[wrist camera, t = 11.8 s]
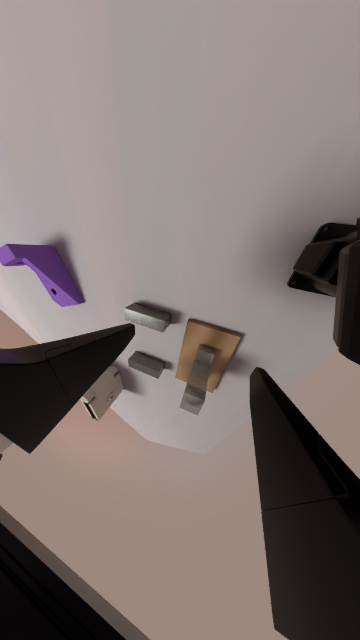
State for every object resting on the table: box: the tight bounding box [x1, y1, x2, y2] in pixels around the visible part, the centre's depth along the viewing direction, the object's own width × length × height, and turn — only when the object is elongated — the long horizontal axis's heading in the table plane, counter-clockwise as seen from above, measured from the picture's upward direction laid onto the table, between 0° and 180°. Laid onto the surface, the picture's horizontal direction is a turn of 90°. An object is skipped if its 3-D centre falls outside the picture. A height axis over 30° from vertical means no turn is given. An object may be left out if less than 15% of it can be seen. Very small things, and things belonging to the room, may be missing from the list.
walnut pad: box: [175, 319, 241, 393], centre depth 26 cm, size 9×16×1 cm, turn 171°
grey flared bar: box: [180, 344, 215, 415], centre depth 22 cm, size 3×8×8 cm, turn 171°
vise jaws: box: [124, 303, 171, 378], centre depth 27 cm, size 8×16×3 cm, turn 171°
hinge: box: [80, 366, 124, 420], centre depth 37 cm, size 14×5×10 cm, turn 12°
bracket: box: [0, 244, 84, 307], centre depth 27 cm, size 12×7×7 cm, turn 13°
